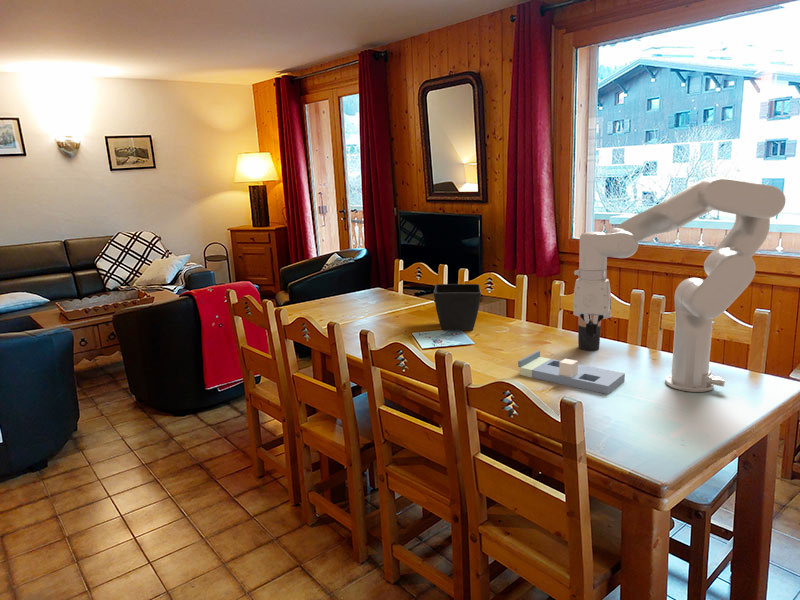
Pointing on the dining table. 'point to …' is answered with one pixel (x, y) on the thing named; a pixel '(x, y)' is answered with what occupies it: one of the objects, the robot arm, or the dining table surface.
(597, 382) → the board
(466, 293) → the flower pot
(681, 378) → the robot arm
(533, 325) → the dining table surface
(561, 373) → the cream block
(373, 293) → the dining table surface
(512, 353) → the dining table surface
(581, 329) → the travel mug
